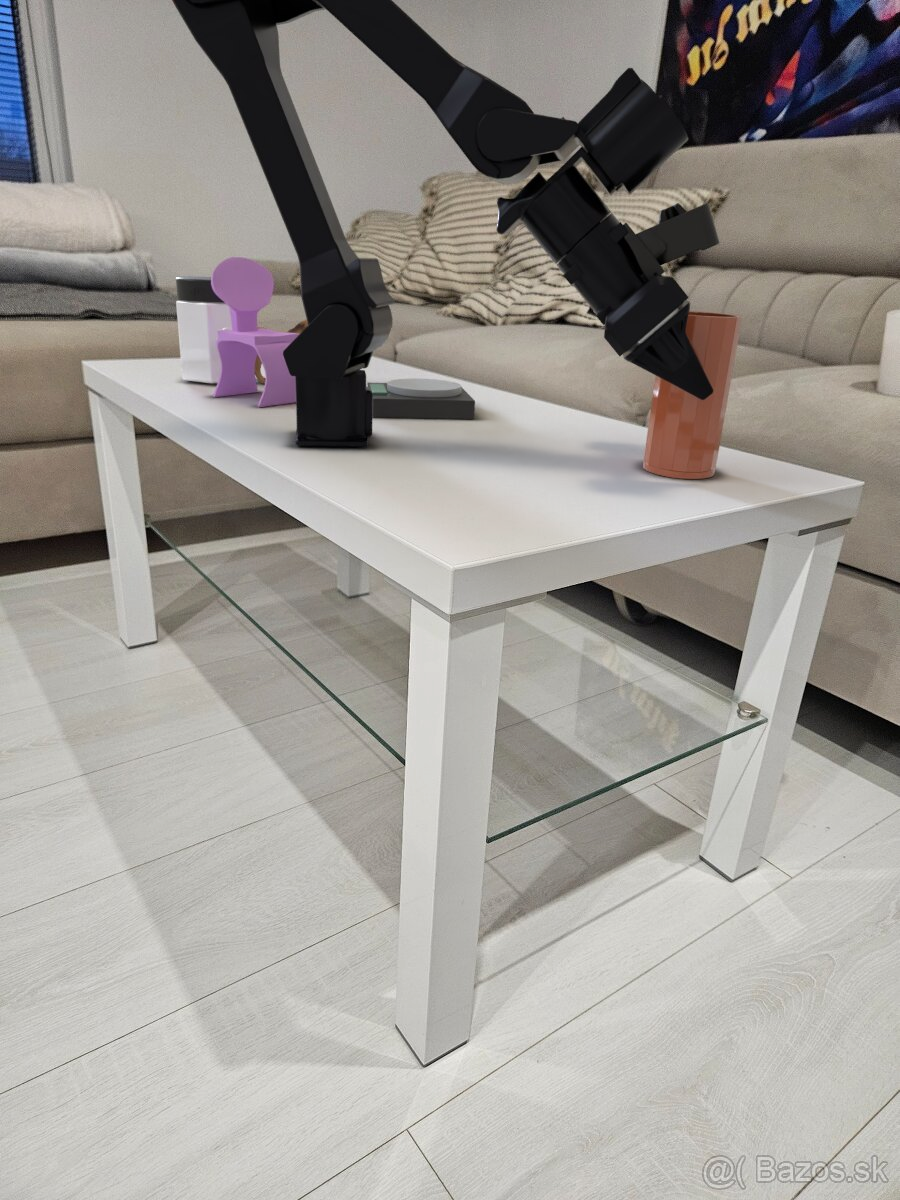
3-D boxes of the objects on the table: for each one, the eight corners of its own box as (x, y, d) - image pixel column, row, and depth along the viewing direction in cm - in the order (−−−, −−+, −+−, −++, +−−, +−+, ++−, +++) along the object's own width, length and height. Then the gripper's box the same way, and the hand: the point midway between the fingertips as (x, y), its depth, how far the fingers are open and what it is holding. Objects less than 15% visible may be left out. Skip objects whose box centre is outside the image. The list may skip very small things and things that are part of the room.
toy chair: (255, 409, 89) (248, 259, 83) (205, 397, 94) (195, 255, 88) (312, 401, 95) (309, 261, 89) (262, 390, 100) (257, 257, 94)
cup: (657, 478, 69) (682, 315, 64) (632, 461, 75) (653, 309, 70) (726, 479, 70) (755, 318, 65) (696, 462, 76) (721, 312, 70)
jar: (194, 385, 100) (186, 279, 96) (171, 375, 106) (162, 275, 102) (263, 381, 105) (258, 280, 101) (236, 372, 111) (231, 277, 107)
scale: (372, 417, 88) (373, 390, 87) (367, 399, 98) (367, 375, 97) (474, 419, 90) (475, 393, 89) (458, 401, 100) (459, 377, 99)
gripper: (675, 147, 55) (813, 329, 58) (658, 173, 72) (765, 313, 75) (547, 268, 59) (681, 433, 62) (559, 266, 76) (664, 395, 79)
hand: (702, 387), depth 69 cm, fingers open, 9 cm apart
